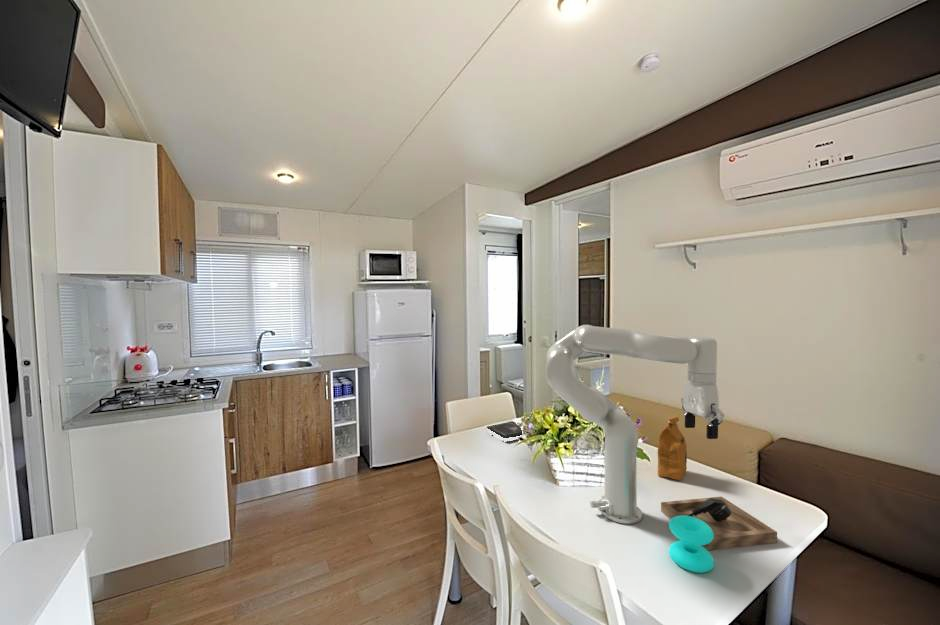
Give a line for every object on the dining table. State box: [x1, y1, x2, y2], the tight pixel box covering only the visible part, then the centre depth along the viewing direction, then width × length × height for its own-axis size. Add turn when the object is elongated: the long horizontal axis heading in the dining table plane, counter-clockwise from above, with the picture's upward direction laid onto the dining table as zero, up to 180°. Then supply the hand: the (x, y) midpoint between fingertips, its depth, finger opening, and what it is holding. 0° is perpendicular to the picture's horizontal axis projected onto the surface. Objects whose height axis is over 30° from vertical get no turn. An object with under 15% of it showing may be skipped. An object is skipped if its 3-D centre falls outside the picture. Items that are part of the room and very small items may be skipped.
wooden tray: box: [660, 496, 778, 552], centre depth 114 cm, size 22×20×3 cm
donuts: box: [668, 515, 715, 574], centre depth 98 cm, size 10×10×10 cm
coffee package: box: [657, 415, 688, 481], centre depth 147 cm, size 10×12×22 cm
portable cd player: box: [486, 421, 522, 438], centre depth 195 cm, size 16×17×4 cm
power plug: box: [688, 497, 731, 525], centre depth 115 cm, size 6×8×12 cm
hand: (700, 432), depth 117 cm, fingers open, 9 cm apart
